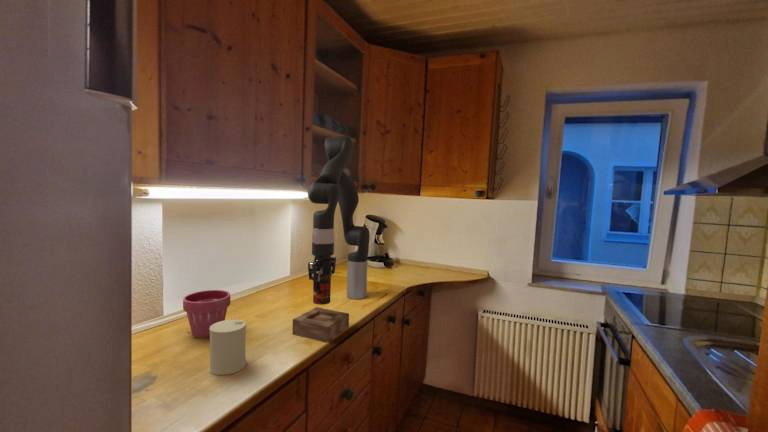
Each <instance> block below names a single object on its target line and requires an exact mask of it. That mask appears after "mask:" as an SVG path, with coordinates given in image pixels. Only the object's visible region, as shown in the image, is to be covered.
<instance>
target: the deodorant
mask: <svg viewBox="0 0 768 432" xmlns="http://www.w3.org/2000/svg"><path fill="white" fill-rule="evenodd" d="M322 267H323V274H322V275H321V278H320V291H319V292H315V291H314V290H313V289H312V290H313V292H312V297H313V298H312V299H313V300H312V301H313V302H312V303H313V304H314V305H322V306H323V305H328V304H330V303H331V290H332V288H331V285H332V283H331V281H332V280H331V279H332V276H331V268H332V267H331V259H327V260H323V261H321V268H322ZM321 268H318V267H317V268H316V269H317V271H321ZM317 277H318V274H317Z"/></svg>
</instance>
